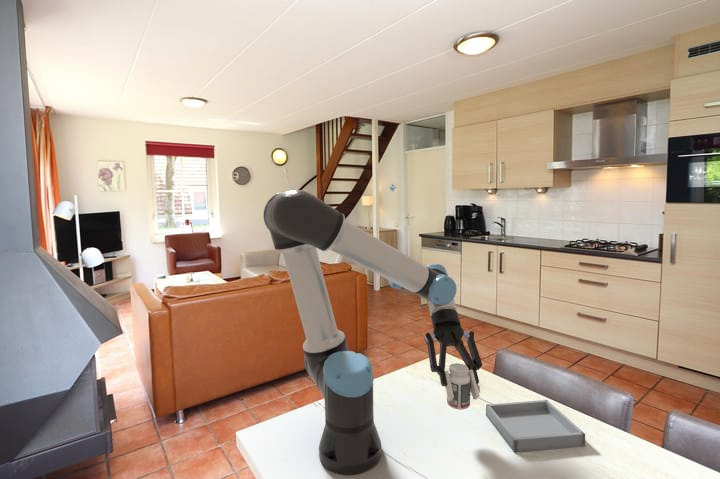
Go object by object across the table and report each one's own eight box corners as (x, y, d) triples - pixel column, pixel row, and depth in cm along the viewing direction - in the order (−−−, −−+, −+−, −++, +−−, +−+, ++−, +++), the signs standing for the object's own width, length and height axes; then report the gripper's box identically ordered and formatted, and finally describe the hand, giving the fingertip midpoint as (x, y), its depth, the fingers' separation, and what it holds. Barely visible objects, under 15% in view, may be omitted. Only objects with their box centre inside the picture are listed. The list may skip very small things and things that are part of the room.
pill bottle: (467, 399, 100) (468, 362, 99) (471, 411, 94) (473, 372, 93) (445, 398, 100) (446, 362, 99) (448, 410, 95) (449, 371, 94)
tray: (514, 452, 91) (514, 440, 91) (485, 415, 107) (486, 404, 107) (584, 446, 93) (585, 433, 93) (546, 410, 109) (546, 399, 108)
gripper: (471, 319, 112) (495, 401, 97) (409, 321, 110) (423, 405, 95) (479, 306, 106) (505, 391, 91) (413, 308, 104) (429, 395, 89)
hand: (463, 398), depth 93 cm, fingers closed on pill bottle, 6 cm apart
